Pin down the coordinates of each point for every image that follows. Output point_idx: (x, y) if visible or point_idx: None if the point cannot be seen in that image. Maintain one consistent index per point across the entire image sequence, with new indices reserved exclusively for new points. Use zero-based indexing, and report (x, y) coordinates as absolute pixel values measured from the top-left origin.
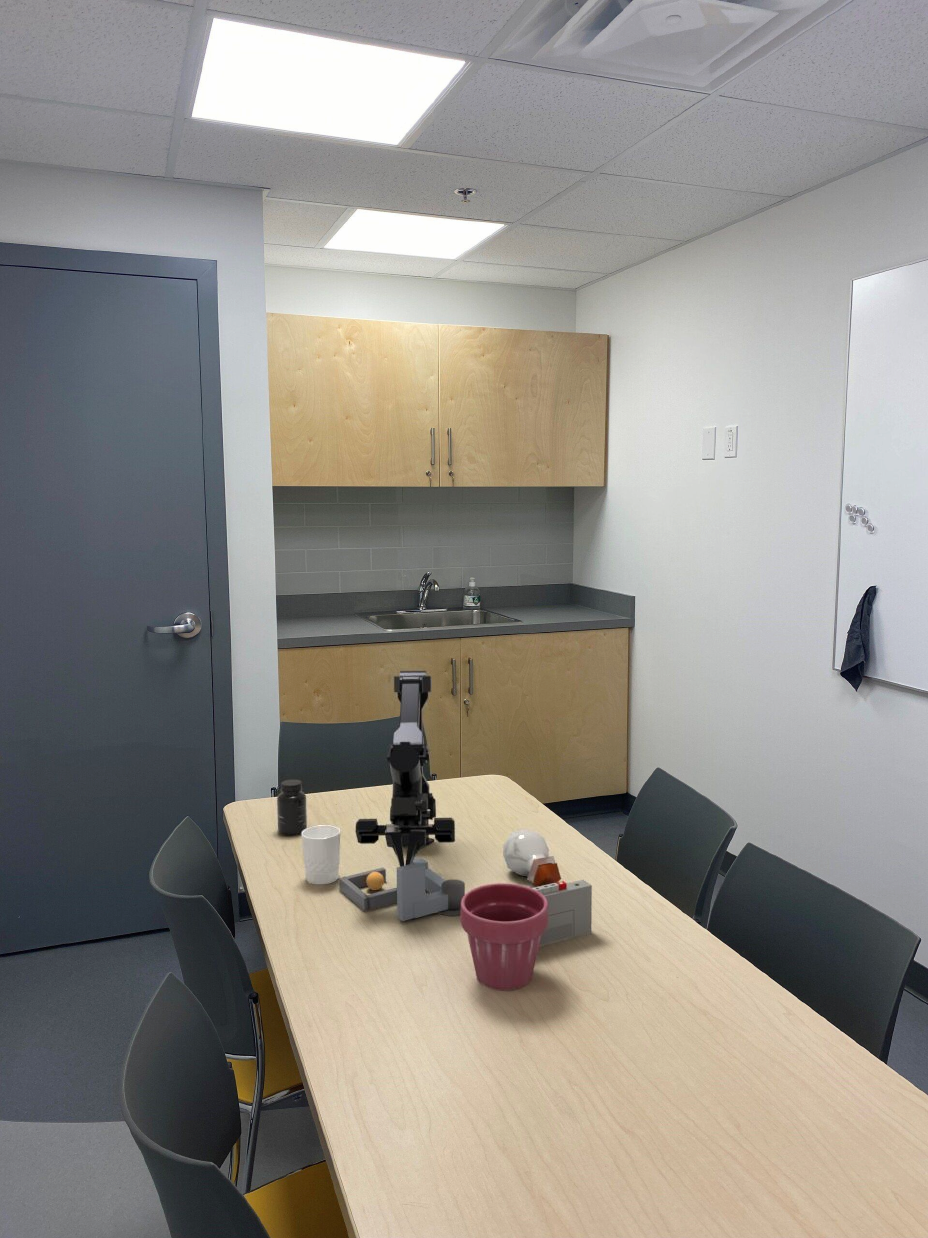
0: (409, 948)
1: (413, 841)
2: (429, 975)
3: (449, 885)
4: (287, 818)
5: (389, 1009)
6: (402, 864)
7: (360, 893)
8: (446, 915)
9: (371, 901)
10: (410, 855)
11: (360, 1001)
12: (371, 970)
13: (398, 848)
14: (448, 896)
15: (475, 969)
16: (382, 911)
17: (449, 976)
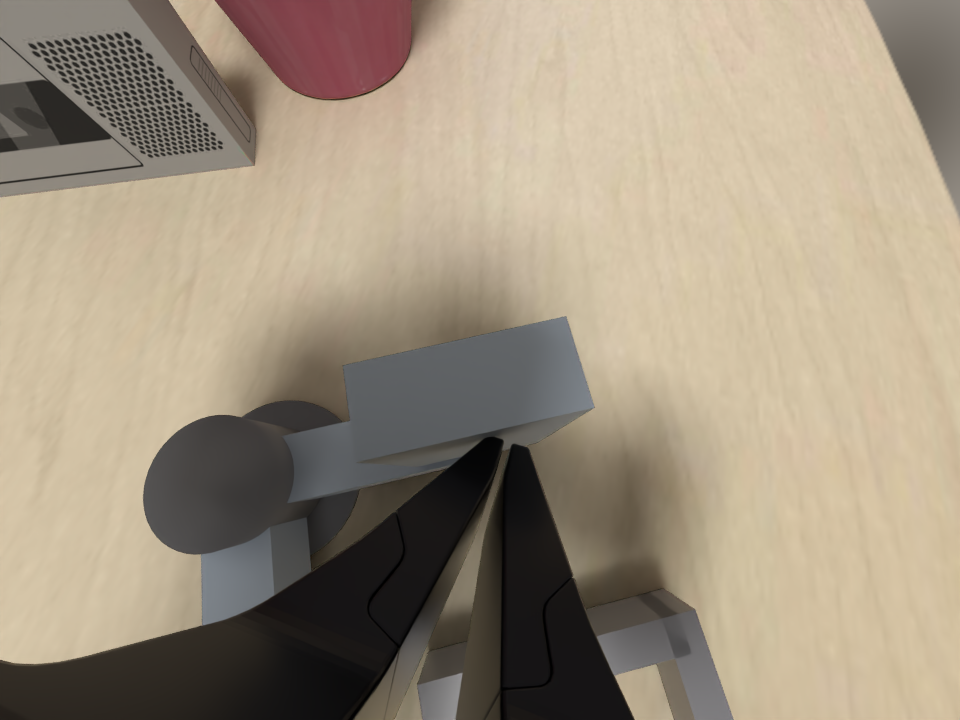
0: (539, 236)
1: (280, 647)
2: (521, 95)
3: (235, 470)
4: None
5: (648, 4)
6: (520, 481)
7: (712, 701)
8: (338, 418)
9: (643, 612)
10: (421, 508)
11: (715, 43)
12: (675, 156)
13: (563, 646)
14: (283, 436)
15: (410, 15)
16: (581, 561)
17: (472, 78)
